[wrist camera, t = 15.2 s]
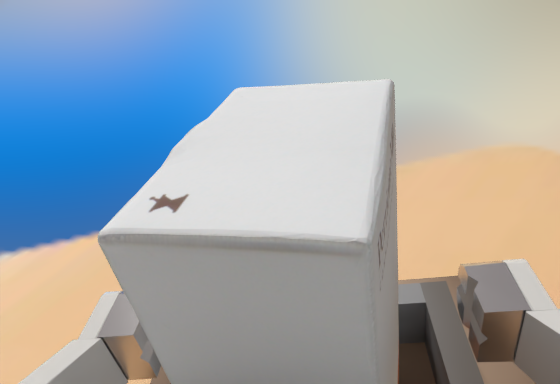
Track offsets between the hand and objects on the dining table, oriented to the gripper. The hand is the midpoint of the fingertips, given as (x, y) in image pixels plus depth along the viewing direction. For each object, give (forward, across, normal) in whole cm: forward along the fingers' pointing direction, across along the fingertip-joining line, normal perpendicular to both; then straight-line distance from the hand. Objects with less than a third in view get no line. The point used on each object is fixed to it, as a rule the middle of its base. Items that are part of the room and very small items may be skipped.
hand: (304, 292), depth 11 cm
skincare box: (-1, 0, +7) cm, 7 cm away
